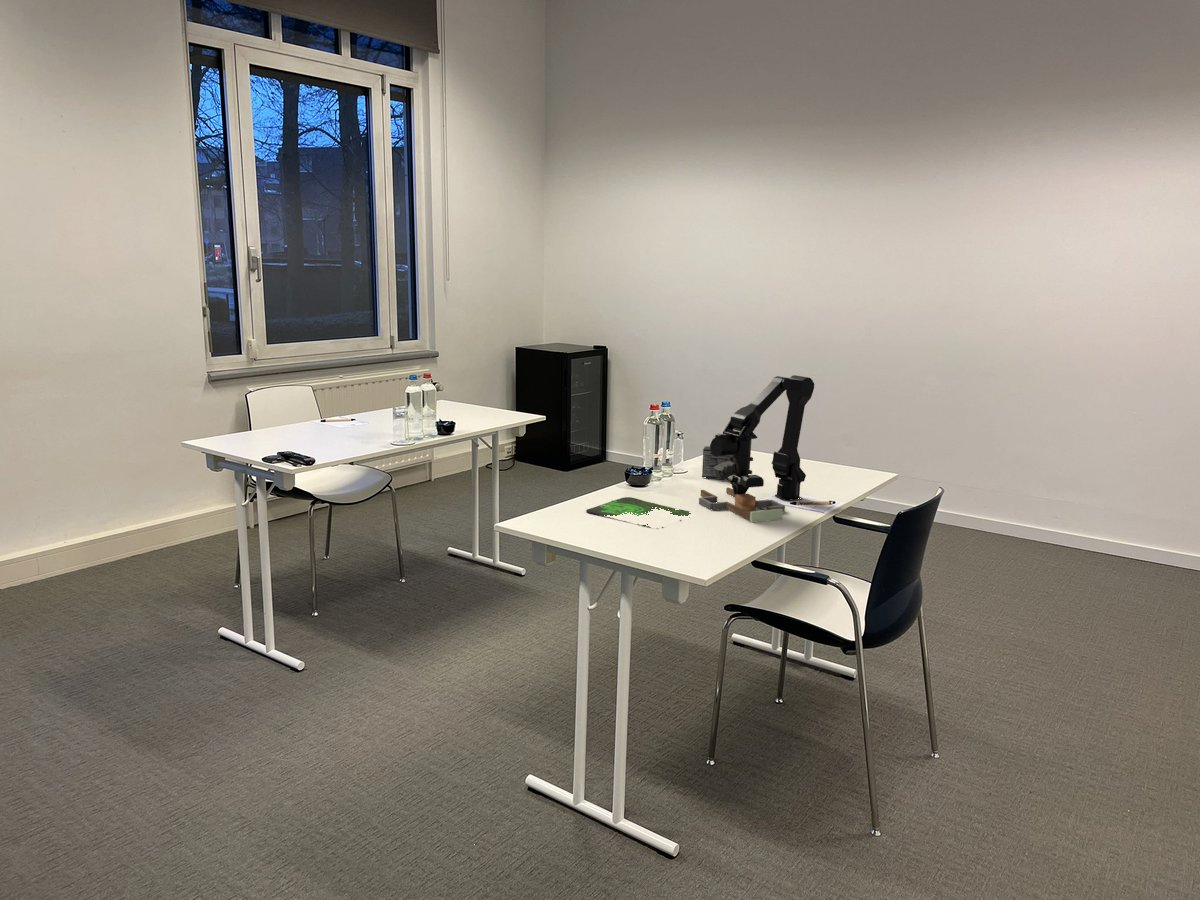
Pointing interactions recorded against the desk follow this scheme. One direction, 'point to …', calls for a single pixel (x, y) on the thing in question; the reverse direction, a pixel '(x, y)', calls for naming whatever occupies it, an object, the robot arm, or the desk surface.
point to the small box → (711, 462)
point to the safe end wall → (766, 515)
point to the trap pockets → (710, 504)
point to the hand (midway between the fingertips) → (738, 502)
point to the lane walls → (732, 507)
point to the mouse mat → (631, 508)
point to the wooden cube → (745, 502)
